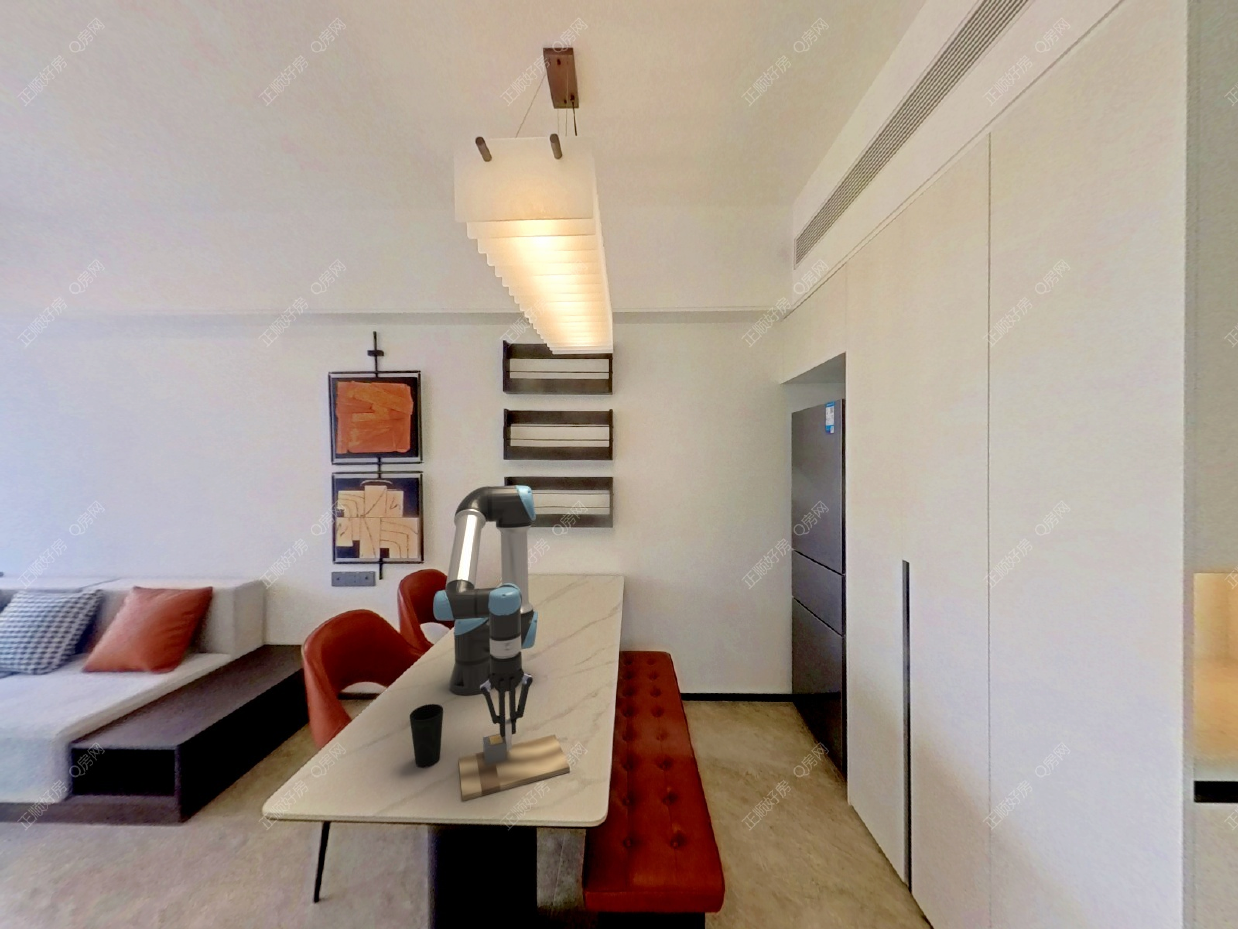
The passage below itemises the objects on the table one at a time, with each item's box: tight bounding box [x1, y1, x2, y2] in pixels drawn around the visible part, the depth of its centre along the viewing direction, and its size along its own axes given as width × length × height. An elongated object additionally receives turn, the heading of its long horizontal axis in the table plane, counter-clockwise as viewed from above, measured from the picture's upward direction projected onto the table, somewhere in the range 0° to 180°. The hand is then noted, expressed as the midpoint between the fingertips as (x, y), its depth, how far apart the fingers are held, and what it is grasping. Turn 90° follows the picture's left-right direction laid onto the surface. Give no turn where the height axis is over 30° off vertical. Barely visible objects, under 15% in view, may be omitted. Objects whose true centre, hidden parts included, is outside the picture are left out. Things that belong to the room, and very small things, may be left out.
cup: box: [409, 703, 444, 769], centre depth 116 cm, size 8×8×12 cm
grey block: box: [482, 733, 507, 765], centre depth 115 cm, size 5×5×4 cm
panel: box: [458, 733, 571, 802], centre depth 113 cm, size 14×24×1 cm, turn 112°
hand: (508, 747), depth 116 cm, fingers closed
